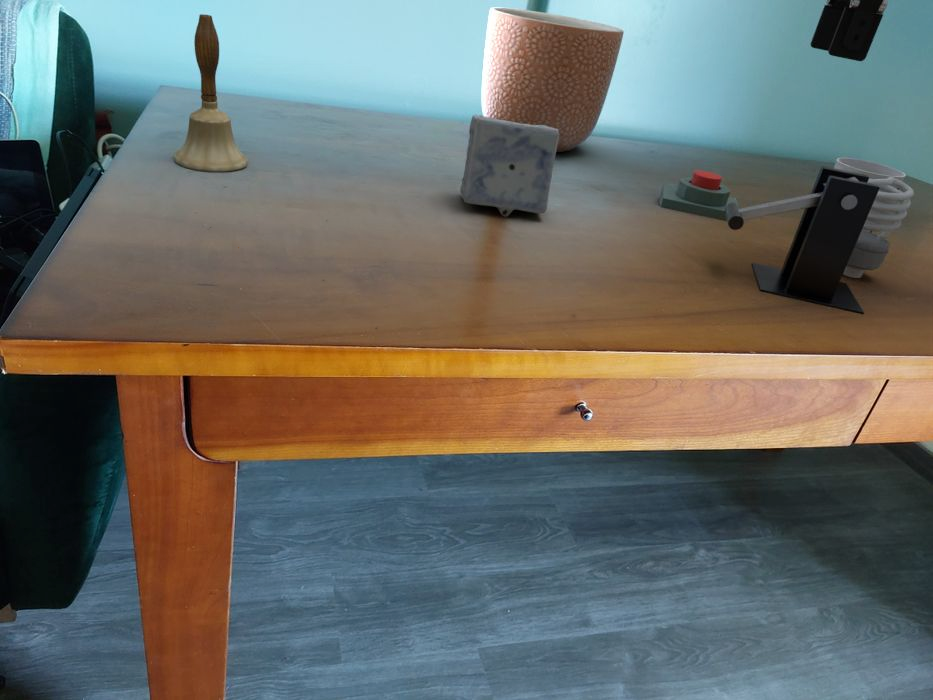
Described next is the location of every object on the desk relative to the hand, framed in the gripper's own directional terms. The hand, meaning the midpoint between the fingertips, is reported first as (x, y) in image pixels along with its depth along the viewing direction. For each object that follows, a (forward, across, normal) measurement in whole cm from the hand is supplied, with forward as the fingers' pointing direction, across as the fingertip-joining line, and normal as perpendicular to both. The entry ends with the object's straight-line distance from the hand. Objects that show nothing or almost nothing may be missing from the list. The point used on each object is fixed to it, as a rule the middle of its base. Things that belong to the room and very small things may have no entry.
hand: (834, 53), depth 71 cm
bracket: (+23, -6, -4) cm, 24 cm away
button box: (+23, +18, +6) cm, 29 cm away
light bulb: (+23, +3, -11) cm, 25 cm away
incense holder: (+24, +2, +30) cm, 38 cm away
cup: (+22, +20, -13) cm, 33 cm away
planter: (+23, +40, +32) cm, 56 cm away
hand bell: (+24, -5, +64) cm, 68 cm away
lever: (+15, -6, -1) cm, 16 cm away
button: (+19, +18, +6) cm, 27 cm away
